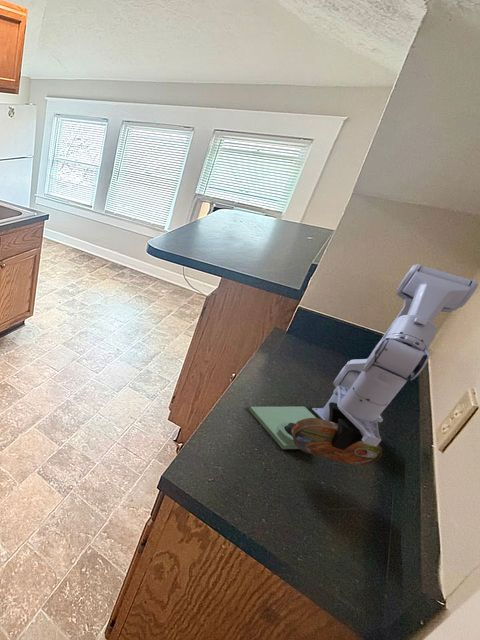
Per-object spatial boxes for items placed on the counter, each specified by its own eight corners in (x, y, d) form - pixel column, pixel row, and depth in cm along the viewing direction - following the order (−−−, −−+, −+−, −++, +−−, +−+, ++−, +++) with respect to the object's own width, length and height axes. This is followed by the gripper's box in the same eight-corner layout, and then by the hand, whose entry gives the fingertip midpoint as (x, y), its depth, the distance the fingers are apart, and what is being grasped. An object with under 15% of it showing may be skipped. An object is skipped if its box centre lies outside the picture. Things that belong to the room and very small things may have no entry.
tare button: (293, 427, 92) (296, 422, 91) (303, 437, 90) (306, 432, 89) (282, 427, 92) (285, 422, 91) (291, 438, 89) (295, 433, 88)
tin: (286, 446, 84) (304, 422, 79) (283, 435, 86) (300, 411, 81) (368, 471, 79) (392, 447, 75) (362, 457, 82) (385, 434, 77)
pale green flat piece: (302, 409, 102) (307, 401, 100) (343, 449, 91) (349, 441, 90) (248, 409, 100) (253, 401, 98) (283, 451, 89) (289, 442, 88)
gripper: (416, 429, 67) (373, 477, 73) (376, 377, 79) (342, 422, 85) (369, 415, 69) (331, 464, 75) (336, 366, 81) (306, 412, 87)
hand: (334, 441), depth 80 cm, fingers closed on tin, 2 cm apart
